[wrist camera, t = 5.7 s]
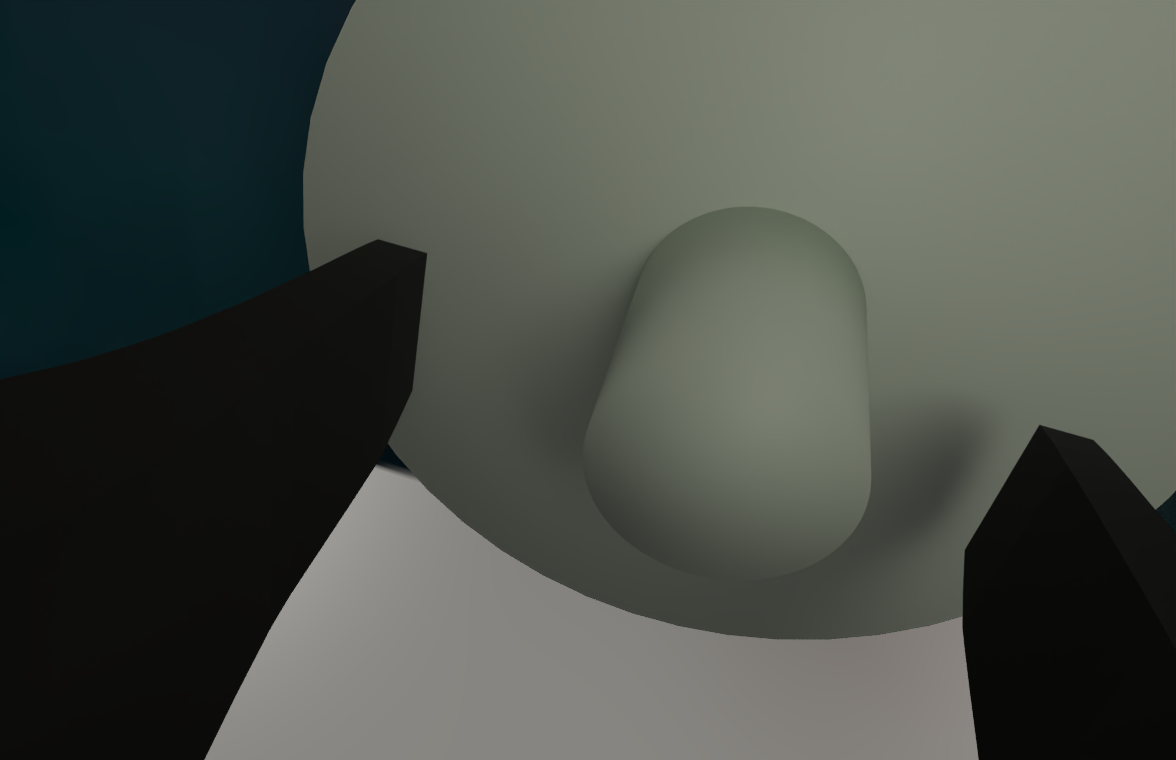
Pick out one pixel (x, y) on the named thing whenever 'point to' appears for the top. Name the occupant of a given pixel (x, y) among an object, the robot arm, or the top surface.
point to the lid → (761, 279)
